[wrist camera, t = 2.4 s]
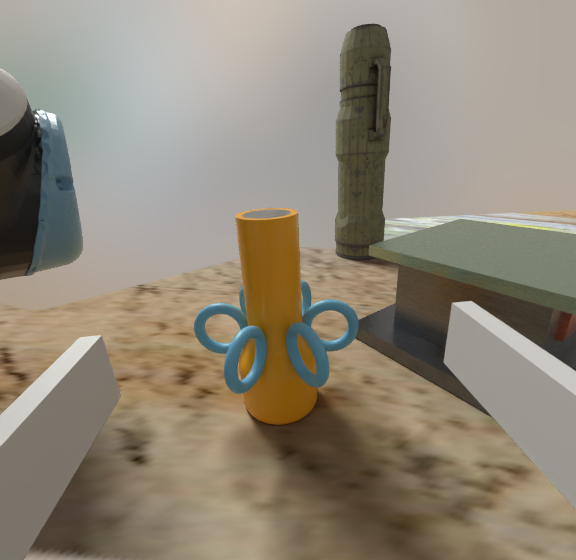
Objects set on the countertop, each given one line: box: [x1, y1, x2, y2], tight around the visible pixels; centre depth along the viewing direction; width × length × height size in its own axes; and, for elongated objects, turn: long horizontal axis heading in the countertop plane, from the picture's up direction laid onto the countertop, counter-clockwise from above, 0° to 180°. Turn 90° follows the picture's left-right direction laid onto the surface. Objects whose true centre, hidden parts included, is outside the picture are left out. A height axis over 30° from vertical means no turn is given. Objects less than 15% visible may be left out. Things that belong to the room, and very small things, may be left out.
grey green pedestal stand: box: [355, 219, 576, 416], centre depth 29 cm, size 18×18×10 cm
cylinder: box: [194, 208, 359, 425], centre depth 23 cm, size 12×10×15 cm
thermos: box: [335, 24, 391, 260], centre depth 54 cm, size 9×12×35 cm
